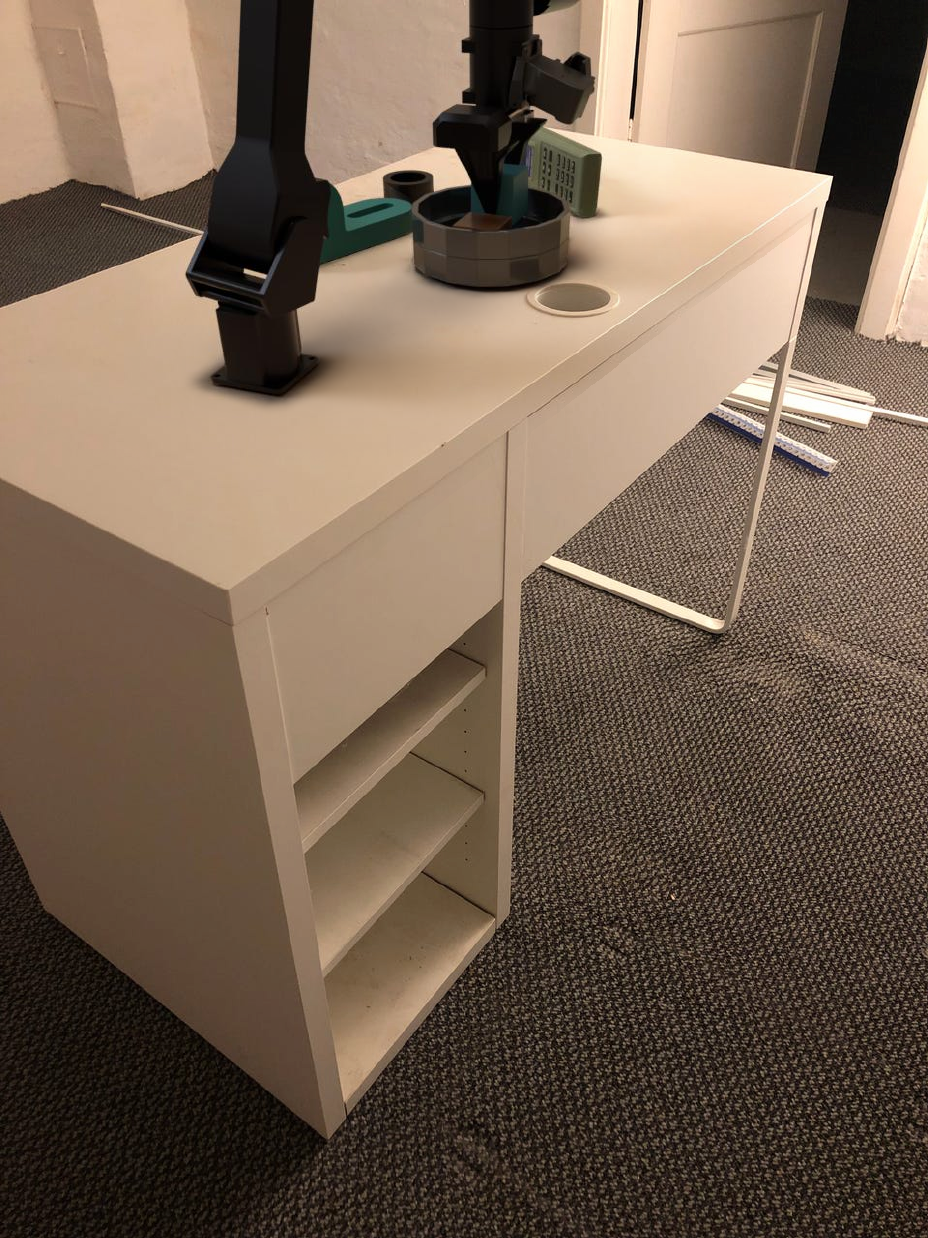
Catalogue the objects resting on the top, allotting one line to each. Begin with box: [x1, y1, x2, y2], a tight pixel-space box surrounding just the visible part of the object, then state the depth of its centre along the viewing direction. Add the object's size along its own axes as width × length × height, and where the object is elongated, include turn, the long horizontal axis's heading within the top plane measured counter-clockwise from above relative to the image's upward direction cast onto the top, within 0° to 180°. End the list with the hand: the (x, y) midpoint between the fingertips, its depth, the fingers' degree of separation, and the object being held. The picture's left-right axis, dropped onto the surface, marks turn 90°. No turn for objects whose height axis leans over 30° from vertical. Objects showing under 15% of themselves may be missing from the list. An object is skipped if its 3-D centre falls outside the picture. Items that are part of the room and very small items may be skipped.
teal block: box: [470, 164, 529, 225], centre depth 97 cm, size 4×4×4 cm
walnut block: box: [453, 212, 512, 230], centre depth 96 cm, size 4×4×4 cm
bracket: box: [320, 182, 413, 265], centre depth 103 cm, size 18×7×8 cm, turn 136°
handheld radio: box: [522, 126, 603, 219], centre depth 117 cm, size 7×3×25 cm
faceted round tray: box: [411, 184, 572, 288], centre depth 98 cm, size 15×15×6 cm
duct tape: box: [382, 169, 435, 205], centre depth 114 cm, size 8×10×3 cm
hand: (499, 206), depth 98 cm, fingers closed on teal block, 4 cm apart
